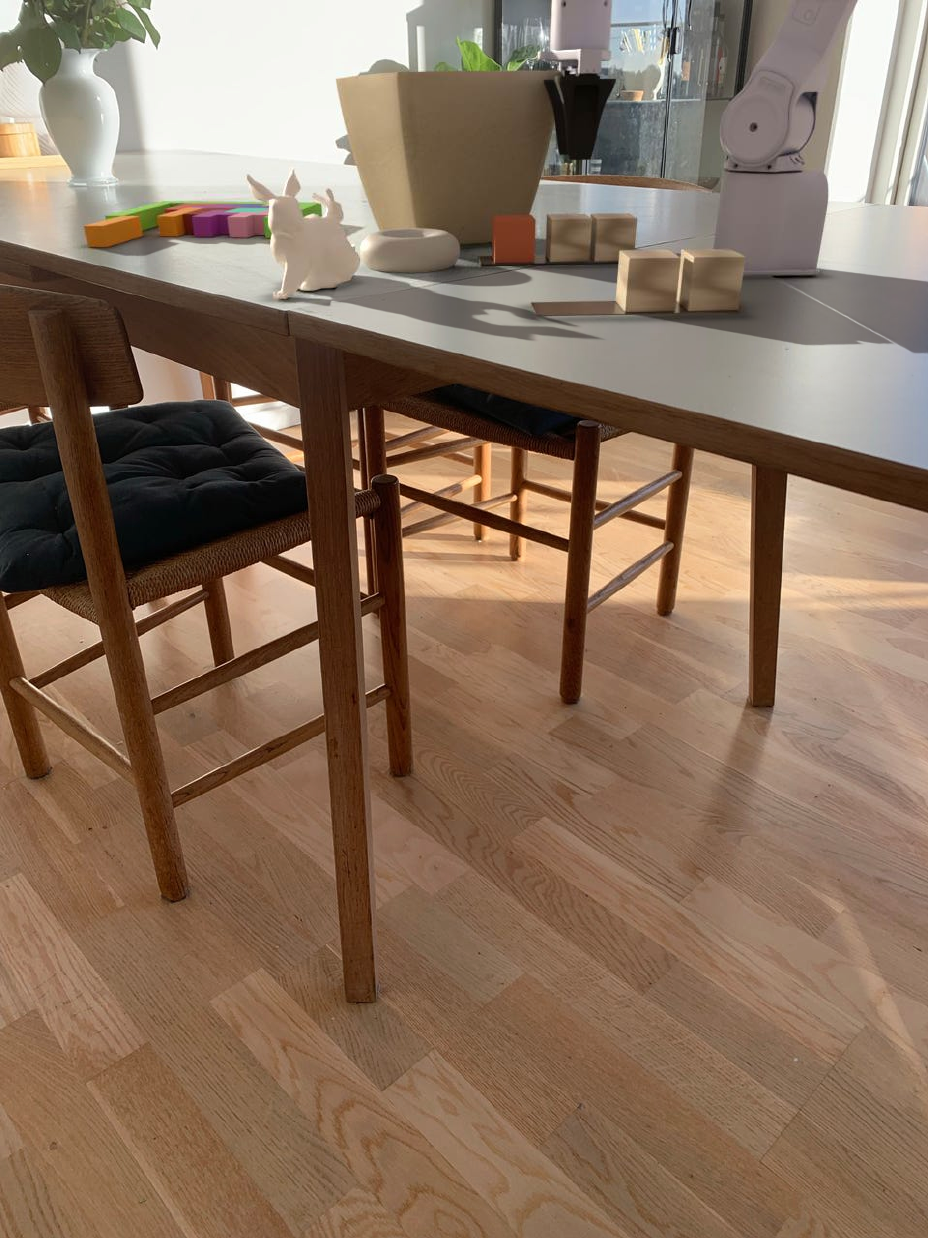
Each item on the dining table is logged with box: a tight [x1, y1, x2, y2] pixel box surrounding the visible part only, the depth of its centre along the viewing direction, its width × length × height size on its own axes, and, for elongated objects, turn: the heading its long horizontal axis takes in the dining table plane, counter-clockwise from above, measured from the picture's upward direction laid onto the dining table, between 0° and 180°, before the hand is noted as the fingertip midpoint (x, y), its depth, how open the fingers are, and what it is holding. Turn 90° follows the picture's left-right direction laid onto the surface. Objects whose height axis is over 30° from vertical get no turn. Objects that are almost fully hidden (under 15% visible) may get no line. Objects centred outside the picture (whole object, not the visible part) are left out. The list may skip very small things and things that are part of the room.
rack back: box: [477, 212, 638, 268], centre depth 93 cm, size 16×5×4 cm, turn 92°
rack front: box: [529, 248, 746, 317], centre depth 72 cm, size 16×5×4 cm, turn 92°
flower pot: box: [335, 70, 561, 246], centre depth 103 cm, size 19×19×17 cm
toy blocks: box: [83, 200, 323, 248], centre depth 114 cm, size 23×2×25 cm
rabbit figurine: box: [245, 167, 361, 300], centre depth 82 cm, size 12×8×10 cm, turn 140°
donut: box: [359, 228, 461, 274], centre depth 91 cm, size 10×4×10 cm
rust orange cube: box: [491, 214, 536, 263], centre depth 92 cm, size 4×4×4 cm
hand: (574, 156), depth 93 cm, fingers open, 7 cm apart
